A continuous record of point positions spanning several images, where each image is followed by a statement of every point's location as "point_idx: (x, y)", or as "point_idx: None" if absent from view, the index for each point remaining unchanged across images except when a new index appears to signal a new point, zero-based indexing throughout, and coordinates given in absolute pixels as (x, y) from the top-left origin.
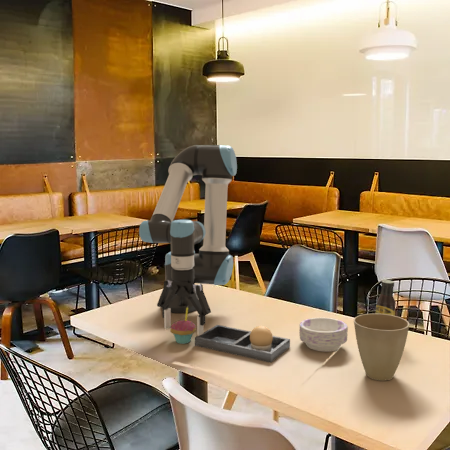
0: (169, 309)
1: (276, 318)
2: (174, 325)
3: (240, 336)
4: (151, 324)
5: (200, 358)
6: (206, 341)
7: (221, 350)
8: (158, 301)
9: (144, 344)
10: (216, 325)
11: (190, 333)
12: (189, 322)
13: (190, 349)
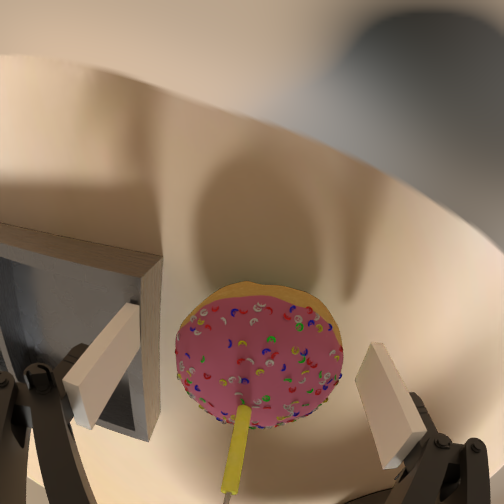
0: (388, 458)
1: (103, 492)
2: (304, 339)
3: None
4: (447, 411)
5: (86, 145)
6: (76, 259)
7: (31, 235)
8: (487, 468)
9: (435, 214)
10: (146, 436)
11: (186, 318)
12: (210, 395)
13: (174, 230)
